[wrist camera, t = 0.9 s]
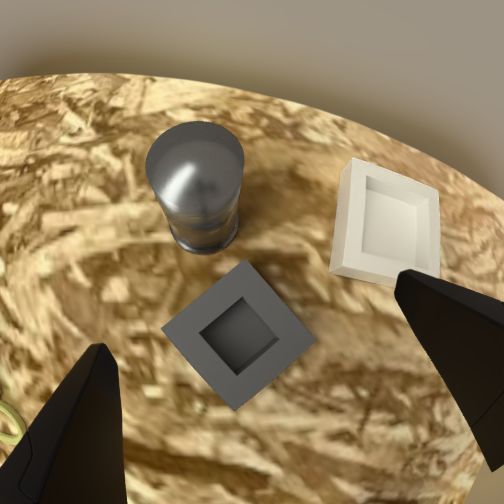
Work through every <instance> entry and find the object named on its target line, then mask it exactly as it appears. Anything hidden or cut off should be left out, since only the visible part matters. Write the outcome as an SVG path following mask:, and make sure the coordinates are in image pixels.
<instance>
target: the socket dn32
mask: <svg viewBox="0 0 504 504" xmlns="http://www.w3.org/2000/svg"><path fill="white" fill-rule="evenodd" d="M161 330H162V331H163V332H164V333H165V335H166V336H167V337H168V338H169V340H170V341H171V342H172V343H173V344H174V346H175V347H176V348H177V349H178V350H179V352H180V353H181V354H182V355H183V356H184V357H185V359H186V360H187V361H188V362H189V363H190V364H191V366H192V367H193V368H194V369H195V370H196V371H197V372H198V373H199V375H200V376H201V377H202V378H203V379H204V380H205V381H206V382H207V383H208V384H209V386H210V387H211V388H212V389H213V390H214V391H215V392H216V393H217V394H218V395H219V396H220V397H221V398H222V399H223V400H224V401H225V402H226V403H227V404H228V405H229V406H230V407H231V408H232V409H233V410H234V411H236V410H237V409H238V408H240V407H241V406H242V405H243V404H245V403H246V402H247V401H248V400H250V399H251V398H252V397H253V396H254V395H256V394H257V393H258V392H259V391H260V390H262V389H263V388H264V387H265V386H266V385H268V384H269V383H270V382H271V381H272V380H273V379H275V378H276V377H277V376H278V375H279V374H280V373H281V372H283V371H284V370H285V369H286V368H287V367H288V366H289V365H290V364H292V363H293V362H294V361H295V360H296V359H297V358H298V357H299V356H300V355H301V354H302V353H304V352H305V351H306V350H307V349H308V348H309V347H310V346H311V345H312V344H313V343H314V342H315V341H316V338H315V337H314V336H313V335H312V334H311V333H310V332H309V331H308V329H307V328H306V327H305V326H304V325H303V324H302V323H301V321H300V320H299V319H298V318H297V317H296V316H295V315H294V313H293V312H292V311H291V310H290V309H289V308H288V307H287V305H286V304H285V303H284V302H283V301H282V300H281V299H280V297H279V296H278V295H277V294H276V293H275V292H274V291H273V289H272V288H271V287H270V286H269V285H268V284H267V283H266V281H265V280H264V279H263V278H262V277H261V276H260V274H259V273H258V272H257V271H256V270H255V269H254V268H253V266H252V265H251V264H250V263H249V262H248V261H247V260H246V258H245V259H244V260H243V261H242V262H241V263H239V264H238V265H237V266H236V267H234V268H233V269H232V270H231V271H230V272H228V273H227V274H226V275H225V276H224V277H222V278H221V279H220V280H219V281H218V282H216V283H215V284H214V285H213V286H212V287H210V288H209V289H208V290H207V291H205V292H204V293H203V294H202V295H201V296H199V297H198V298H197V299H196V300H195V301H193V302H192V303H191V304H190V305H189V306H187V307H186V308H185V309H184V310H182V311H181V312H180V313H179V314H178V315H176V316H175V317H174V318H173V319H172V320H170V321H169V322H168V323H167V324H166V325H164V326H163V327H162V328H161Z"/></svg>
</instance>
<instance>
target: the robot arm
mask: <svg viewBox="0 0 504 504" xmlns="http://www.w3.org/2000/svg"><path fill="white" fill-rule="evenodd" d="M394 295H395V299H396V301H397V303H398V305H399V306H400V308H401V310H402V312H403V314H404V316H405V317H406V319H407V321H408V323H409V325H410V327H411V329H412V330H413V332H414V334H415V336H416V337H417V339H418V341H419V342H420V344H421V345H422V347H423V348H424V350H425V351H426V353H427V354H428V356H429V358H430V359H431V361H432V362H433V364H434V366H435V367H436V369H437V371H438V372H439V374H440V375H441V377H442V379H443V380H444V382H445V384H446V386H447V387H448V389H449V391H450V392H451V394H452V396H453V398H454V399H455V401H456V403H457V405H458V406H459V408H460V410H461V412H462V414H463V416H464V417H465V419H466V421H467V423H468V425H469V427H470V428H471V431H472V433H473V435H474V437H475V439H476V441H477V443H478V445H479V447H480V449H481V451H482V453H483V455H484V457H485V459H486V462H487V464H488V466H489V468H490V470H491V472H494V471H495V470H497V469H498V468H500V467H501V466H503V465H504V302H503V301H502V302H501V301H500V300H497V299H494V298H492V297H489V296H486V295H484V294H481V293H478V292H475V291H473V290H470V289H467V288H464V287H462V286H459V285H456V284H453V283H450V282H448V281H445V280H442V279H439V278H436V277H433V276H430V275H427V274H425V273H422V272H419V271H416V270H413V269H406V270H403V271H401V272H399V274H398V276H397V281H396V286H395V291H394ZM0 504H128V503H127V495H126V485H125V473H124V458H123V433H122V407H121V398H120V387H119V375H118V366H117V363H116V360H115V359H114V357H113V356H112V354H111V352H110V351H109V349H108V347H107V346H106V344H104V343H95V344H91V345H90V346H89V347H88V348H87V350H86V351H85V352H84V354H83V355H82V356H81V357H80V359H79V360H78V361H77V362H76V364H75V365H74V366H73V368H72V369H71V370H70V371H69V373H68V374H67V375H66V377H65V378H64V379H63V381H62V382H61V383H60V385H59V386H58V387H57V389H56V390H55V391H54V393H53V394H52V395H51V397H50V398H49V400H48V401H47V402H46V404H45V405H44V406H43V408H42V409H41V411H40V412H39V413H38V415H37V416H36V418H35V419H34V421H33V422H32V423H31V425H30V426H29V428H28V431H26V432H25V434H24V435H23V437H22V438H21V440H20V441H19V442H18V444H17V445H16V447H15V448H14V450H13V451H12V453H11V454H10V455H9V457H8V458H7V459H6V461H5V462H4V463H3V465H2V466H1V467H0Z"/></svg>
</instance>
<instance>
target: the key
mask: <svg viewBox="0 0 504 504" xmlns="http://www.w3.org/2000/svg"><path fill="white" fill-rule="evenodd" d="M0 393H1V389H0ZM0 410H1V411H2V412H4V413H5V414H6V415H7V416H8V417H10V418H11V419H12V421H13V422H14V423H15V425H16V427H17V429H18V433H19V435H16V436H10V435H7V434H4V433H2V432H0V440H2V441H4V442H6V443H9V444H12V445H17V444H18V442H19V441H20V440H21V438H22V437H23V435H24V434H25V432H26V431H27V430H26V426H25V424H24V421H23V420H22V418H21V416H20V415H19V414H18V412H17V411H16V410H15V409H14V408H13V407H12V406H10V405H9V404H8V403H6V402H4V401H3V400H1V399H0Z"/></svg>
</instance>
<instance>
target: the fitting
mask: <svg viewBox="0 0 504 504" xmlns="http://www.w3.org/2000/svg"><path fill="white" fill-rule="evenodd" d="M145 168H146V175H147V179H148V181H149V183H150V185H151V187H152V189H153V191H154V193H155V195H156V197H157V199H158V202H159V204H160V206H161V208H162V210H163V212H164V214H165V216H166V218H167V220H168V222H169V226H170V230H171V233H172V235H173V237H174V239H175V240H176V242H177V243H178V244H179V245H180V246H181V247H182V248H183V249H185V250H186V251H188V252H190V253H193V254H197V255H210V254H214V253H217V252H219V251H221V250H223V249H224V248H225V247H227V246H228V245H229V244H230V243H231V241H232V240H233V238H234V237H235V235H236V232H237V229H238V223H239V216H238V211H237V210H238V203H239V196H240V189H241V182H242V175H243V168H244V152H243V149H242V146H241V144H240V142H239V141H238V139H237V138H236V137H235V136H234V135H233V134H232V133H231V132H230V131H229V130H227V129H226V128H224V127H222V126H220V125H217V124H214V123H210V122H204V121H193V122H187V123H182V124H179V125H177V126H174V127H172V128H170V129H169V130H167V131H166V132H164V133H163V134H162V135H161V136H159V137H158V138H157V140H156V141H155V142H154V143H153V145H152V146H151V148H150V150H149V152H148V155H147V158H146V167H145Z"/></svg>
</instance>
